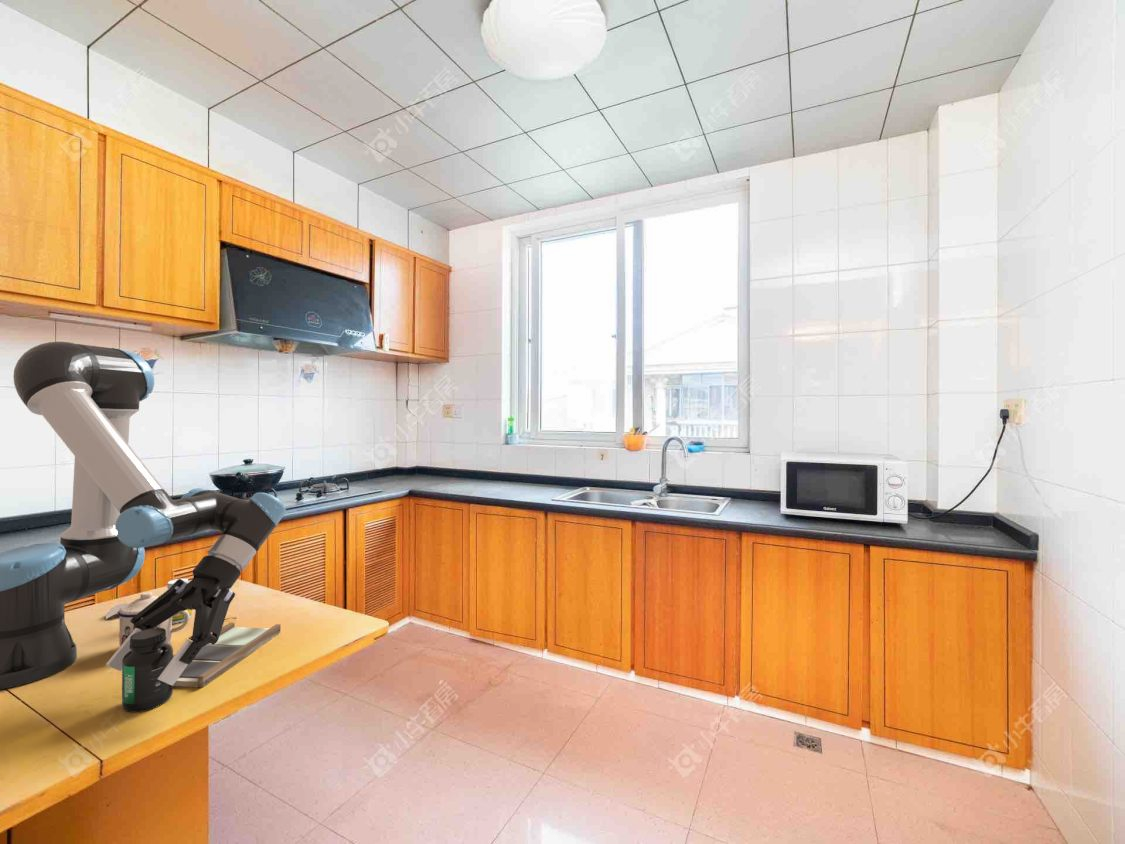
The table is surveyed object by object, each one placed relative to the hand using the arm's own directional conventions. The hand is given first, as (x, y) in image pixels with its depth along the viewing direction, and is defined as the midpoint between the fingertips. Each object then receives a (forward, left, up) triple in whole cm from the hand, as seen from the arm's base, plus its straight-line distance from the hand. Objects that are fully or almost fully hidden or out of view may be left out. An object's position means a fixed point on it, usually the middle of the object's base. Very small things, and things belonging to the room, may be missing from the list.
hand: (138, 675), depth 85 cm
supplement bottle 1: (0, +2, -6) cm, 6 cm away
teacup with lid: (-17, +22, -6) cm, 28 cm away
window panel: (0, +18, -5) cm, 19 cm away
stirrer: (-34, +42, -6) cm, 54 cm away
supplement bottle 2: (-23, +35, -6) cm, 42 cm away
